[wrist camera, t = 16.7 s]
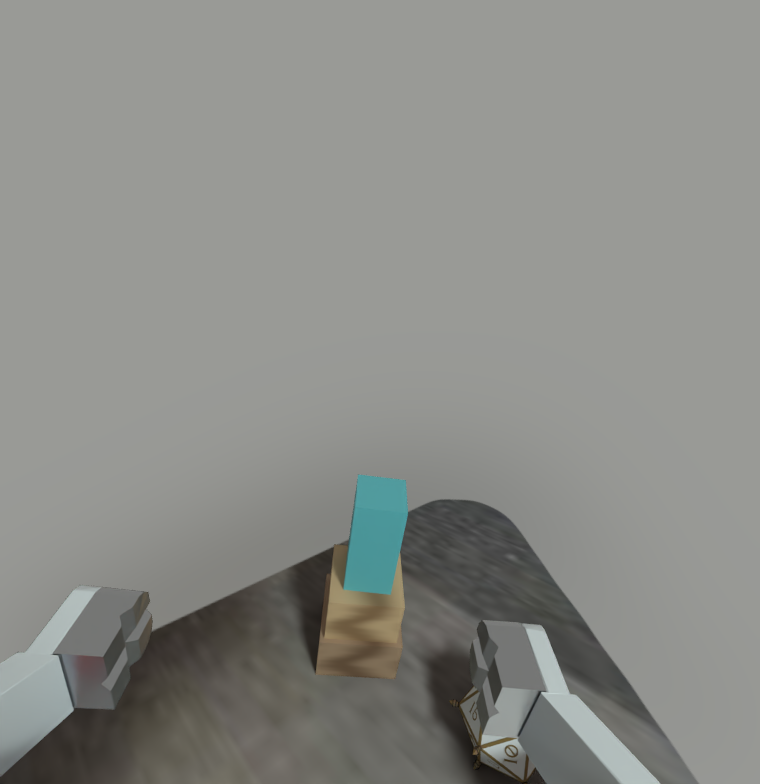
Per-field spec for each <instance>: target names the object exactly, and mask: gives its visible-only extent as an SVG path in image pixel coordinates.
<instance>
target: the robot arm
mask: <svg viewBox="0 0 760 784" xmlns="http://www.w3.org/2000/svg"><path fill="white" fill-rule="evenodd" d="M149 602H150V599H149V594H148V592H143V591H134V590H125V589H116V588H107V587H98V586H87V585H80V586H78V587H77V588H76V589H74V590H73V591H72V592H71V593H70V594H69V596H68V597H67V599H66V600H65V601H64V602H63V604H62V605H61V606H60V607H59V609H58V610H57V611H56V613H55V614H54V615H53V617H52V618H51V619H50V620H49V622H48V623H47V624H46V626H45V627H44V628H43V629H42V631H41V632H40V633H39V635H38V636H37V637H36V639H35V640H34V641H33V642H32V644H31V645H30V646H29V648H28V649H27V650H26V652H17V653H15V654H14V655H12V656H11V657H9V658H8V659H6V660H4V661H3V662H1V663H0V777H1V776H2V775H3V774H4V773H5V772H6V771H7V770H8V769H9V768H11V767H12V766H13V765H14V764H15V763H16V762H17V761H18V760H19V759H21V758H22V757H23V756H24V755H25V754H26V753H27V752H28V751H29V750H31V749H32V748H33V747H34V746H35V745H36V744H37V743H38V742H39V741H41V740H42V739H43V738H44V737H45V736H46V735H47V734H48V733H49V732H51V731H52V730H53V729H54V728H55V727H56V726H57V725H58V724H59V723H61V722H62V721H63V720H64V719H65V718H66V717H67V716H68V715H69V714H70V713H72V712H73V711H74V708H92V709H115V708H116V706H117V704H118V702H119V700H120V698H121V696H122V694H123V692H124V690H125V688H126V686H127V684H128V682H129V680H130V678H131V676H130V670H129V667H130V666H131V665H132V664H134V663H135V662H136V661H138V660H139V659H140V658H141V657H142V655H143V653H144V651H145V648H146V646H147V644H148V641H149V638H150V634H151V631H152V614H151V613H150V612H149V611H147V610H146V608H147V606H148V604H149ZM477 633H478V638H477V639H475V640H474V641H473V642H472V645H471V649H470V658H469V665H470V674H471V680H472V684H473V685H474V686H475V687H476V689H477V690H478V691H479V692H480V694H479V697H478V699H477V702H476V705H477V710H478V715H479V720H480V725H481V730H482V735H491V736H501V737H510V738H518V742H519V743H520V745H521V746H522V748H523V749H524V751H525V752H526V754H527V755H528V757H529V758H530V760H531V761H532V763H533V764H534V766H535V767H536V769H537V770H538V772H539V773H540V775H541V776H542V778H543V779H544V781H545V782H546V784H660V783H659V782H658V780H657V779H656V778H655V777H654V776H653V775H652V774H651V773H650V772H649V771H648V770H647V769H646V768H645V767H644V766H643V765H642V764H641V763H640V762H639V760H638V759H637V758H636V757H635V756H634V755H633V754H632V753H631V752H630V751H629V750H628V749H627V748H626V747H625V746H624V745H623V744H622V743H621V742H620V740H619V739H618V738H617V737H616V736H615V735H614V734H613V733H612V732H611V731H610V730H609V729H608V728H607V727H606V726H605V725H604V724H603V723H602V722H601V720H600V719H599V718H598V717H597V716H596V715H595V714H594V713H593V712H592V711H591V710H590V709H589V708H588V707H587V706H586V705H585V704H584V703H583V702H582V701H581V699H580V698H579V697H578V696H577V695H575V694H570V693H569V690H568V688H567V685H566V683H565V680H564V678H563V675H562V673H561V670H560V668H559V665H558V663H557V660H556V658H555V655H554V652H553V650H552V647H551V645H550V642H549V640H548V637H547V635H546V632H545V630H544V628H543V627H542V626H541V625H535V624H520V623H517V622H502V621H488V620H482V621H481V622H479V625H478V628H477Z"/></svg>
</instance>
